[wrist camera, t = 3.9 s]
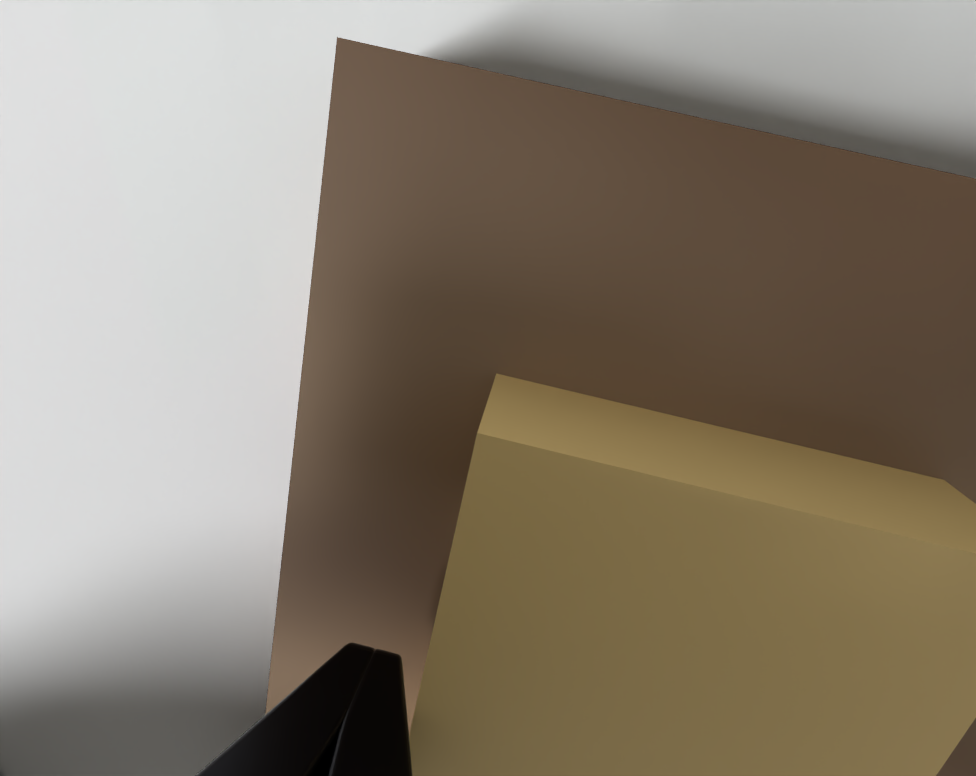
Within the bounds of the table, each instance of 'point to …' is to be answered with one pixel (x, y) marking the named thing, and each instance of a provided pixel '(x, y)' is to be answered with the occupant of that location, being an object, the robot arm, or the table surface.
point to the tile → (692, 604)
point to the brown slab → (591, 315)
